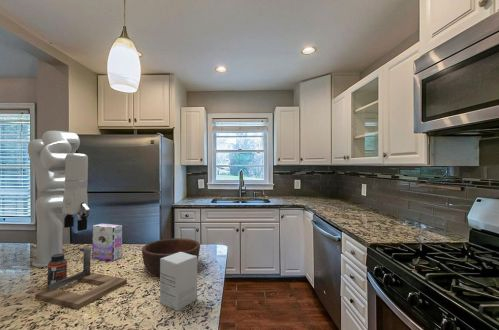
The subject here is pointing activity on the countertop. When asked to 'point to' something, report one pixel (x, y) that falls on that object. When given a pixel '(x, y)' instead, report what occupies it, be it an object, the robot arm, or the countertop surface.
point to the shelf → (86, 276)
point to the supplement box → (178, 280)
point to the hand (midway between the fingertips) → (75, 228)
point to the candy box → (107, 242)
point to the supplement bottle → (57, 269)
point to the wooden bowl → (166, 251)
